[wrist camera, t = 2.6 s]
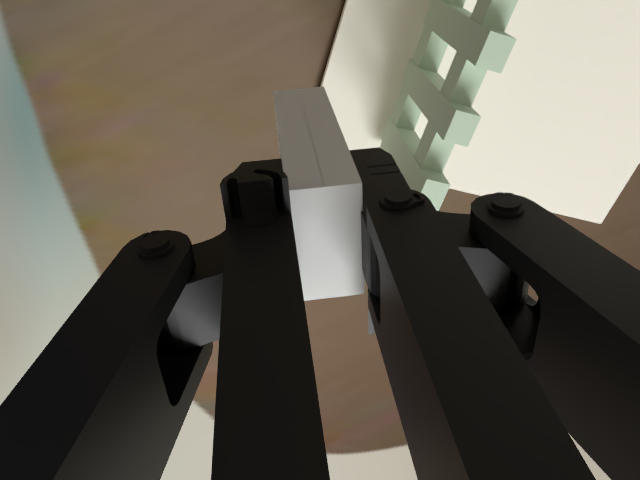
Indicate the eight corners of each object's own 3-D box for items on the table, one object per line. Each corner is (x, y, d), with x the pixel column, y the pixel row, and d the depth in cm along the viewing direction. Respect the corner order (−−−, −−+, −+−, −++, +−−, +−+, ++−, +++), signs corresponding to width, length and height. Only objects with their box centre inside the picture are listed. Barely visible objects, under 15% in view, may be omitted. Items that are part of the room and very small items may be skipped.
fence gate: (466, -94, 23) (540, -87, 17) (487, -86, 23) (568, -76, 17) (375, 150, 28) (408, 221, 22) (394, 155, 28) (431, 226, 23)
